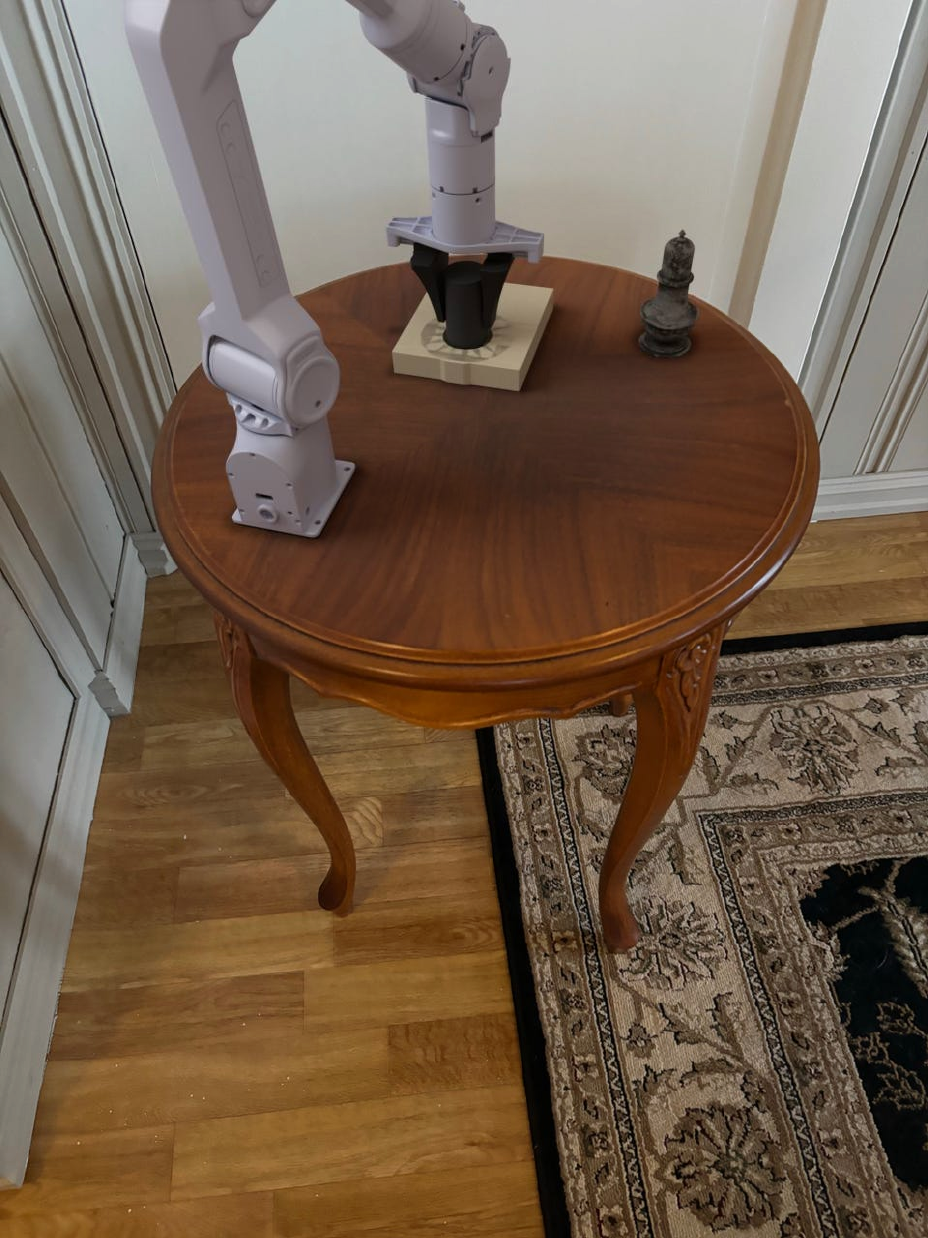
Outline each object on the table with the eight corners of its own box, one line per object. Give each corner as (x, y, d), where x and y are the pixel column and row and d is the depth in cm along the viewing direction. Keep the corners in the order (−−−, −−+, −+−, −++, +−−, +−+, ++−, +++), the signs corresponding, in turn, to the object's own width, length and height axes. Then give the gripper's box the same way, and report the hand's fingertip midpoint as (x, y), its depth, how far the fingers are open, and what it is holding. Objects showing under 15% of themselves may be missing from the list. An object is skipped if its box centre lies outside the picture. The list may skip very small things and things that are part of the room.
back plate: (518, 393, 87) (519, 371, 85) (393, 374, 89) (390, 352, 87) (552, 309, 96) (554, 288, 94) (438, 294, 99) (437, 273, 97)
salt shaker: (625, 348, 91) (639, 234, 82) (651, 321, 94) (668, 208, 85) (677, 366, 89) (698, 251, 79) (703, 337, 92) (726, 224, 82)
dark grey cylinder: (481, 351, 88) (480, 285, 82) (441, 345, 88) (437, 280, 83) (492, 328, 90) (492, 262, 85) (453, 322, 91) (450, 257, 86)
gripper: (554, 167, 78) (547, 307, 89) (398, 152, 81) (410, 289, 92) (535, 204, 74) (531, 347, 84) (372, 187, 77) (387, 327, 87)
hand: (466, 320), depth 88 cm, fingers closed on dark grey cylinder, 4 cm apart
